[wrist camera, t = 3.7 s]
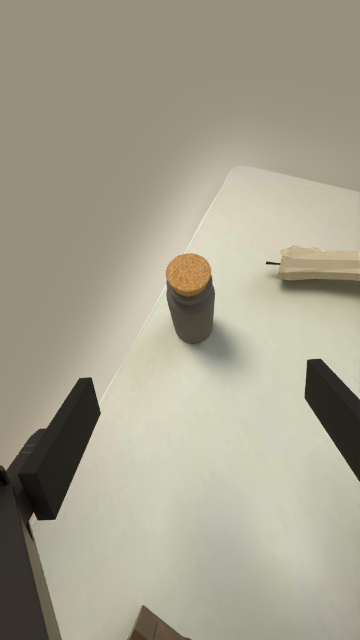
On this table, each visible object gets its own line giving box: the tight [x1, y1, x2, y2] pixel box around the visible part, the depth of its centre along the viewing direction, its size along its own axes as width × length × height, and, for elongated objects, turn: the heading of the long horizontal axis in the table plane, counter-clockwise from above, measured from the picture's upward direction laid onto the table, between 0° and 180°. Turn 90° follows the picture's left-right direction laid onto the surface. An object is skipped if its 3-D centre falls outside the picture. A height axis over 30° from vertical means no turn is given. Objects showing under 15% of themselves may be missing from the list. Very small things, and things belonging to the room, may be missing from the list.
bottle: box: [166, 254, 215, 343], centre depth 35 cm, size 6×6×15 cm
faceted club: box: [266, 246, 360, 281], centre depth 40 cm, size 9×8×25 cm
